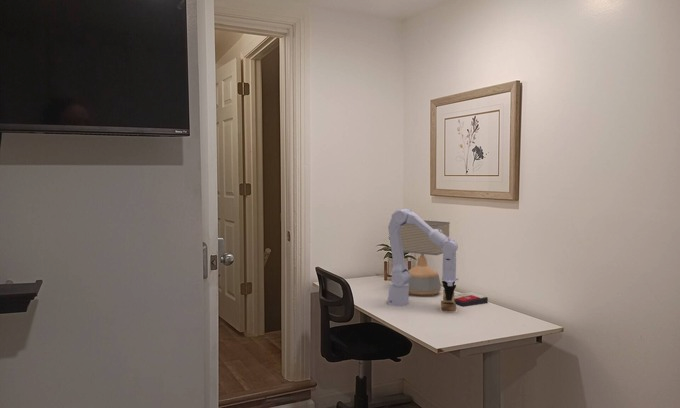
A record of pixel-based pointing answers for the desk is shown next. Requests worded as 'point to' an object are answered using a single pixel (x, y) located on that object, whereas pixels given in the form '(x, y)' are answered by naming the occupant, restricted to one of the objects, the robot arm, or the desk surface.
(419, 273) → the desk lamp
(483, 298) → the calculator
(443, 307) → the walnut slab
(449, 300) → the oak cube
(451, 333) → the desk surface
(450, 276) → the robot arm
